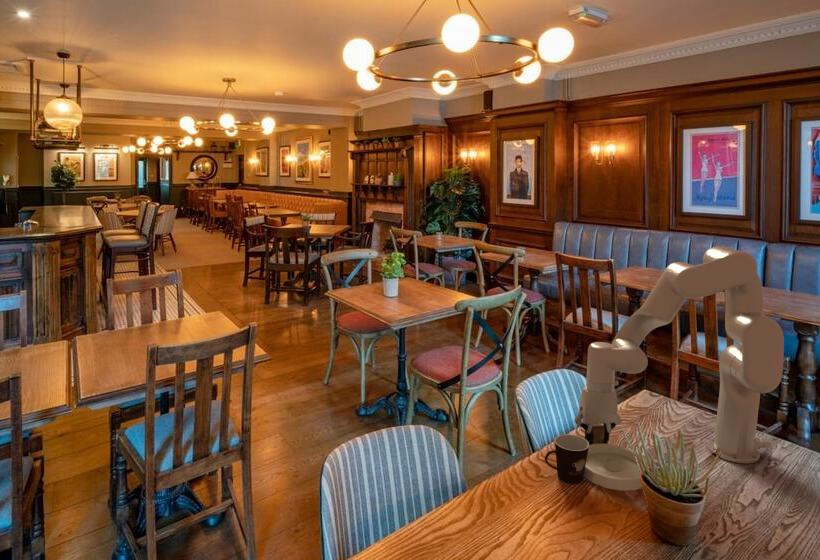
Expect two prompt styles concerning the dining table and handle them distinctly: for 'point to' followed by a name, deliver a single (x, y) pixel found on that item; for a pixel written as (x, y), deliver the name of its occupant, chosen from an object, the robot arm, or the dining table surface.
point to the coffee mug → (570, 457)
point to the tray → (612, 467)
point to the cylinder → (598, 434)
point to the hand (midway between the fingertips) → (596, 442)
